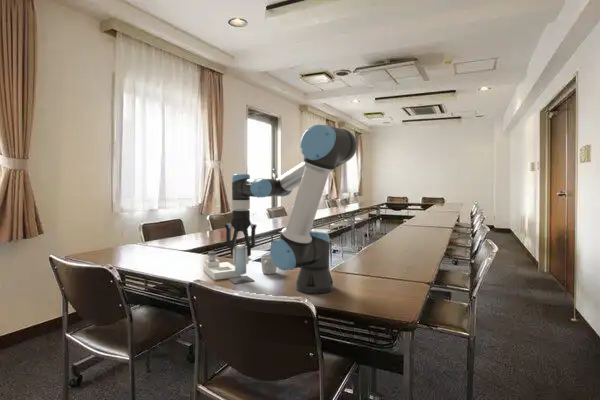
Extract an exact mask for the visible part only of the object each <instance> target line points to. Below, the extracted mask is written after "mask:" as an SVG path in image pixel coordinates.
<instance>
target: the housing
mask: <svg viewBox="0 0 600 400" xmlns="http://www.w3.org/2000/svg"><path fill="white" fill-rule="evenodd" d="M204 261H205V262H204V263H205V264H203V267H202V269H203V272H204V273H205V274H207V275H208V276H209V277H210V278H211V279H212V280H213V281H216V280H223V279H228V278H233V277H240V276H241V274H235V265H234V264H233V263H230V262H228V261H224V262H223V261H222V262H220V260H219V259H217V258H216V261H212V262H209V259H205V260H204Z"/></svg>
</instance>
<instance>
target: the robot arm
mask: <svg viewBox="0 0 600 400" xmlns="http://www.w3.org/2000/svg"><path fill="white" fill-rule="evenodd" d="M299 145H300V149H301V150H300V151H301V154H302V155H303V157H302V162H301V163H299V164H297V165H296V166H295V167H293V168H291V169H290V170H288V171H287V172H285V173H284V174H282V175H280V176H279V177H277V178H251V175H250V174H248V173H234V174H233V175H232V179H231V181H232V182H231V193H232V194H231V209H232V211H231V221H230V222H229V223H225V225H224V227H225V231H226V232H225V234H226V241H225V242H226V244H225V245H226V247H227V248H230V256H232V265H235V248H236V243H237V237H238V234H239V233H240V232H242V233H243V236H244V240H245V245H246V249H245V264H246V265H248V264H249V260H250V259H249V257H250V256H251V255H252V249H253V248H255V246H256V229H257V224H254V223H252V222H251V219H250V218H251V217H250V216H251V215H250V214H251V211H250V209H251V202H250V200H251V198H252V197H253V198H267V197H270V198H271V197H286V196H287V197H288V196H290V195H291V193H292V192H293V190H294V189H296V188H298V190H297V193H296V196H295V200H294V203H293V206H292V210H291V213H290V216H289V219H288V223H287V226H285V227H283V228H282V230H281V232H280V235H279V238H276V239H274V240H272V242H271V244H270V247H269V255H271V258H272V261H273V263H274V264H275V265H276V266H277V269H279V270H282V271H292V270H294V269H298V268H300V269H299V272H298V274H297V278H296V282H295V289H296V290H297V291H298V292H301V293H305V294H312V293H313V294H316V295H317V294H318V295H319V293H320V294H325V292H327V293H329V292H328V291H330V292H331V290H332V289H333V290H334V282H333V277H332V275H331V271H330V244H331V242H330V234H328V233H327V232H321V231H313V230H312V227H313V224H314V222H315V218H316V215H317V212H318V209H319V205H320V202H321V199H322V196H323V194H324V191H325V186H326V185H327V180H328V178H329V175H330V174H331V172H333V171H335V170H336V168H339V167H340V166H342V165H344V164H346V163H347V162H349V161H350V160H351V159H352V158H354V156H355V155H356V153H357V150H358V141H357V138H356V136H355V135H354V134H353V133H352V132H351V131H350V130H349V129H345V128H340V127H336V126H330V125H329V124H328V125H326V124H313V125H312V126H310V127H309V128H307V129H306V130H305V132H304V133H303V134H302V137H301V139H300V144H299ZM249 227H250V229H251V231H250V235H251V237H249V230H248V229H249ZM232 228H233V234H232V232H231V231H232V230H231V229H232ZM232 235H233V236H232ZM231 236H232V237H231ZM231 238H232V240H231ZM250 238H251V240H250ZM333 290H332V291H333Z"/></svg>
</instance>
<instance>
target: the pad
mask: <svg viewBox="0 0 600 400" xmlns="http://www.w3.org/2000/svg"><path fill="white" fill-rule="evenodd" d="M227 280H228V281H229V282H231V283H232V284H233V285H240V284H246V283H253V282H255V279H253V278H252V277H250V276H248V275H242V276H241V275H240V277H232V278H227Z"/></svg>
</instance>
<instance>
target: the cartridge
mask: <svg viewBox="0 0 600 400" xmlns="http://www.w3.org/2000/svg"><path fill="white" fill-rule="evenodd" d="M234 248H235V264H234V266H235V274H240V275H245V274H247V264H245V249H246V248H247V245H246V244H238V245H237V244H235V247H234Z"/></svg>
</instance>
